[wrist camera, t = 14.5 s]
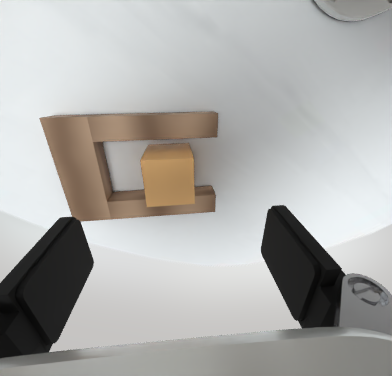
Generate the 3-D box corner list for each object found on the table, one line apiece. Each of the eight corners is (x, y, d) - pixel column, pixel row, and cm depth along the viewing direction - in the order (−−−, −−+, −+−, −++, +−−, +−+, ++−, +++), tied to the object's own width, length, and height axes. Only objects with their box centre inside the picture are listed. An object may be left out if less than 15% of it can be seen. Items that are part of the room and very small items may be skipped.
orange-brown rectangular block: (188, 142, 22) (193, 158, 17) (189, 179, 24) (194, 203, 19) (148, 144, 22) (140, 160, 17) (152, 181, 24) (146, 207, 18)
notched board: (213, 111, 21) (217, 113, 19) (211, 201, 26) (215, 211, 24) (54, 115, 20) (39, 118, 17) (83, 210, 24) (74, 221, 22)
